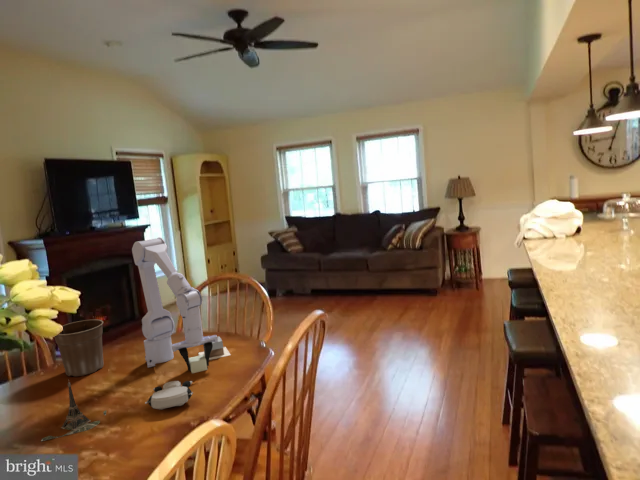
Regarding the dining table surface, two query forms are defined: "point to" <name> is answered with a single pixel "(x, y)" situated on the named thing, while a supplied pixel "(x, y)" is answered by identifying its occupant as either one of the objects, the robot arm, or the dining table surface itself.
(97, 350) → the plant pot
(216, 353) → the walnut slab
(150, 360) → the robot arm
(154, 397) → the robot toy
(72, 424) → the eiffel tower figurine
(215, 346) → the light grey flat block
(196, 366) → the sage block
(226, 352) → the cream board
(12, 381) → the dining table surface
